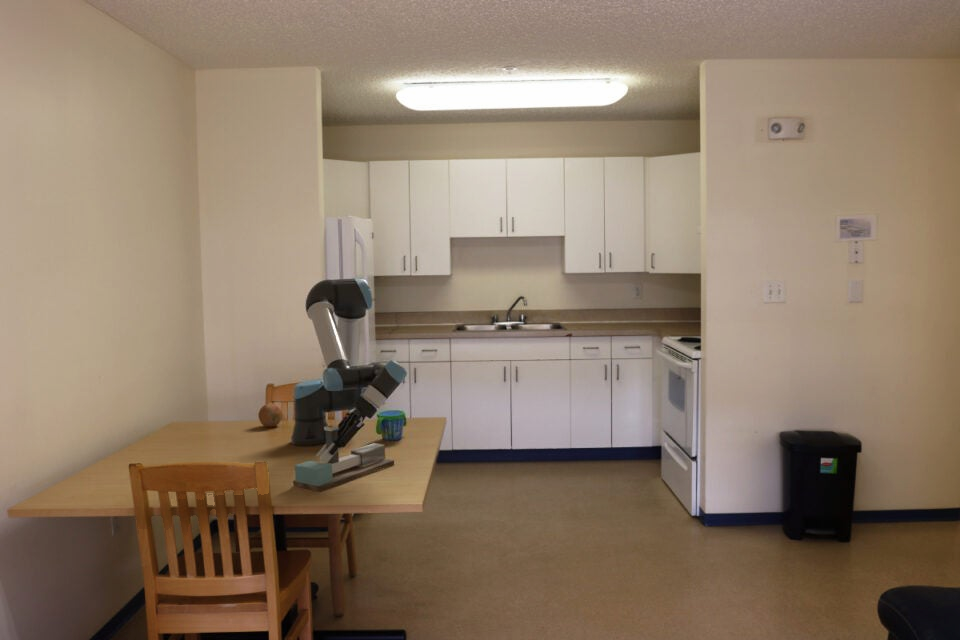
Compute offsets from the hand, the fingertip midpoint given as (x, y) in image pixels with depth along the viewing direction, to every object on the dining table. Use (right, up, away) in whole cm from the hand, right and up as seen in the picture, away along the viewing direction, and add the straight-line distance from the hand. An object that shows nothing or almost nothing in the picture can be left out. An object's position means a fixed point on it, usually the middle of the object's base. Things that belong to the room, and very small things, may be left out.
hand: (320, 459), depth 244 cm
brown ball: (-37, -1, +81) cm, 90 cm away
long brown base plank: (+7, -6, +7) cm, 11 cm away
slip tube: (+5, -4, +4) cm, 8 cm away
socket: (-1, -6, -5) cm, 8 cm away
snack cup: (+16, -2, +54) cm, 56 cm away
